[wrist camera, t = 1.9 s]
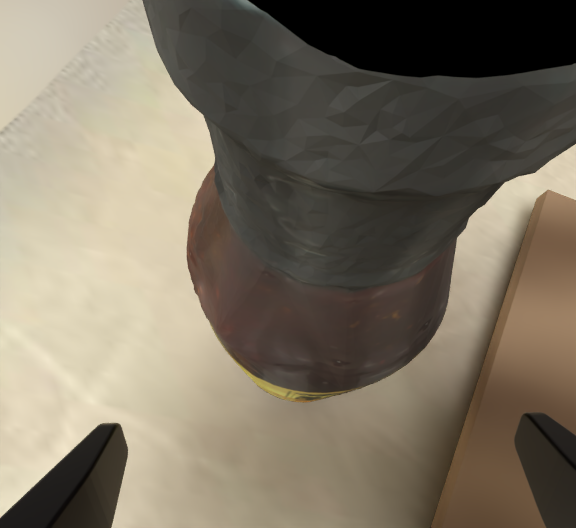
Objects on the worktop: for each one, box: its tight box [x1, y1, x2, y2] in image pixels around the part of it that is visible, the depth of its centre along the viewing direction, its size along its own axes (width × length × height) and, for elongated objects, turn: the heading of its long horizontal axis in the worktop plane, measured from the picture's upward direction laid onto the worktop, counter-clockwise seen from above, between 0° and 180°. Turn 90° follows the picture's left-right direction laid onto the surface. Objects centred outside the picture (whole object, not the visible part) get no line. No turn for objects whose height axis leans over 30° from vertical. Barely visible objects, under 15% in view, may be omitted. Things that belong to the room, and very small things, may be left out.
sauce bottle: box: [143, 0, 576, 402], centre depth 12 cm, size 6×6×20 cm
